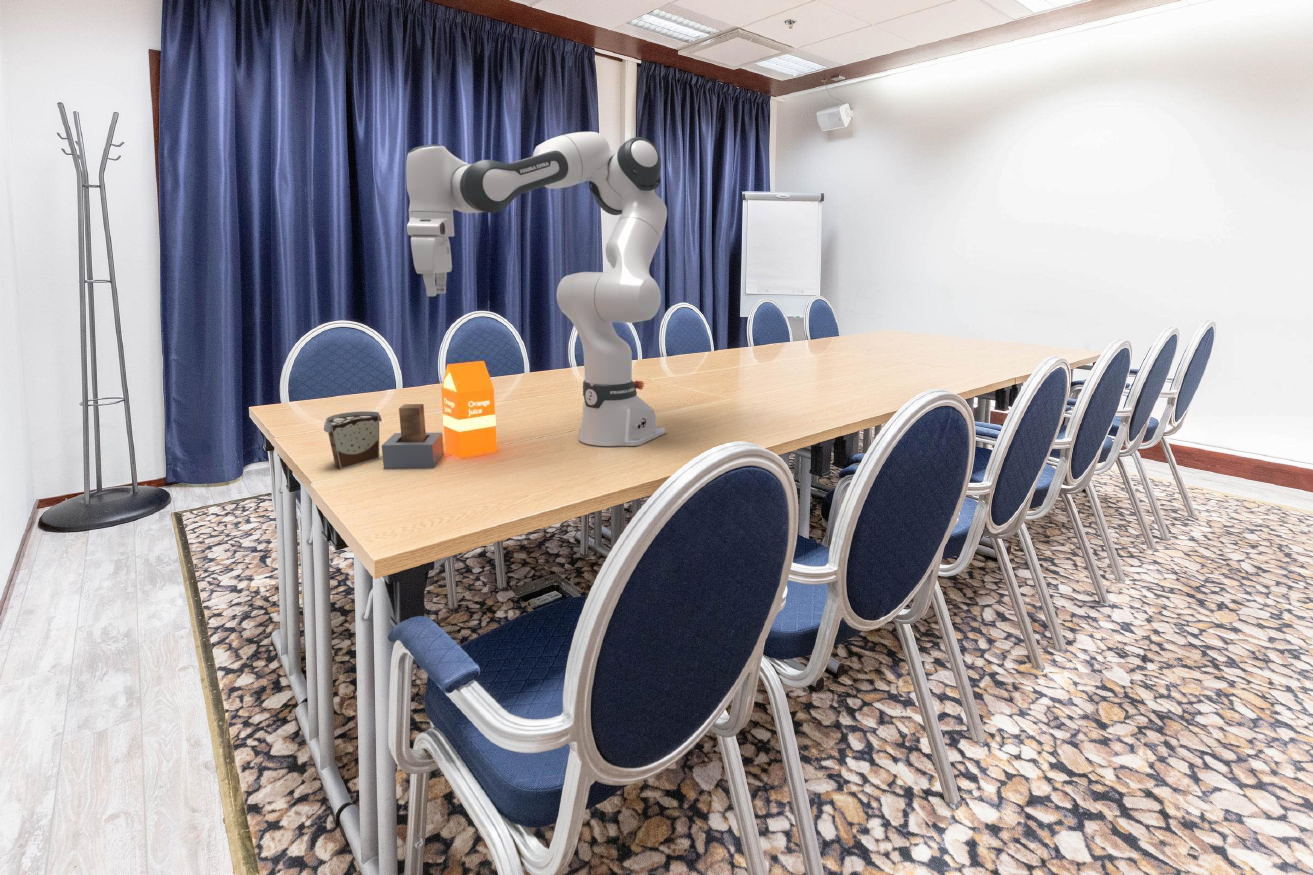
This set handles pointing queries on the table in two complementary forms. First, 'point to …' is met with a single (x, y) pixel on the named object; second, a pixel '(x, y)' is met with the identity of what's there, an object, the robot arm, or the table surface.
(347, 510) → the table surface
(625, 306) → the robot arm
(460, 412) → the orange juice
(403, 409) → the peg
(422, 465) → the socket
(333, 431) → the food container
